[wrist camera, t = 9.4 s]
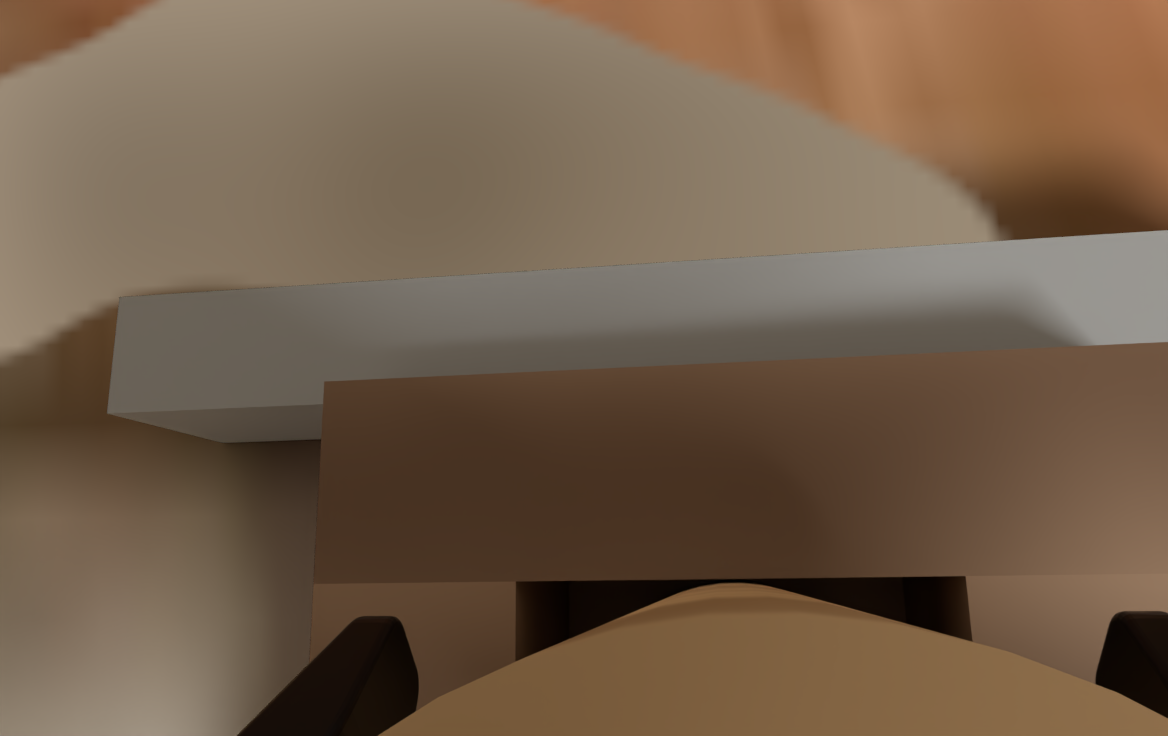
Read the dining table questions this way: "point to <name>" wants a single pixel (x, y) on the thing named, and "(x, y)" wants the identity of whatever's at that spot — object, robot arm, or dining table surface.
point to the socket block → (749, 498)
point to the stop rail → (619, 322)
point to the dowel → (774, 679)
